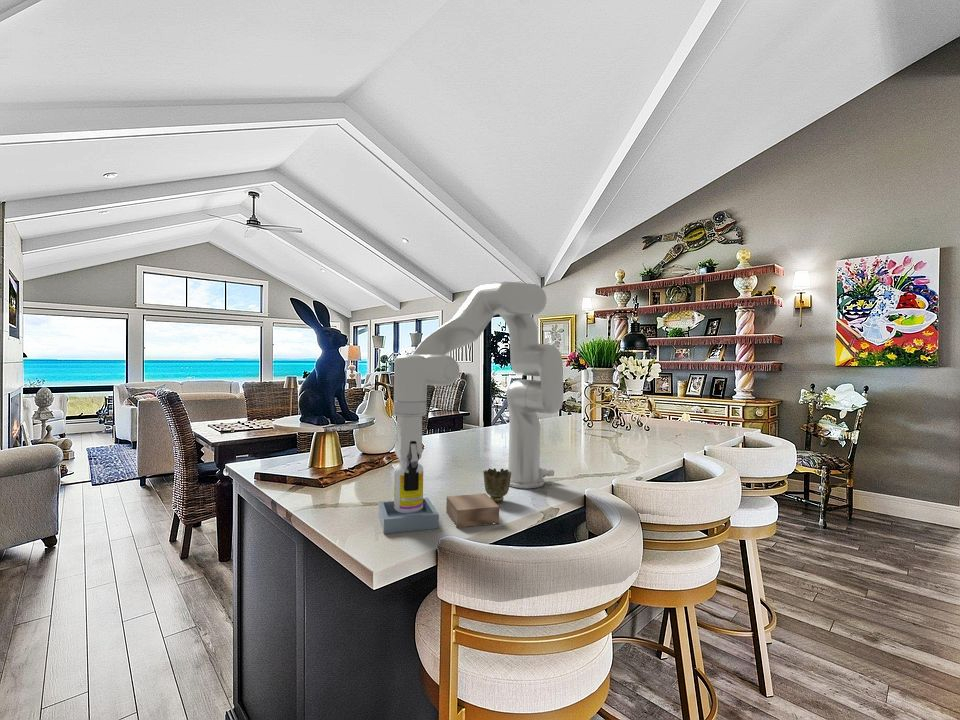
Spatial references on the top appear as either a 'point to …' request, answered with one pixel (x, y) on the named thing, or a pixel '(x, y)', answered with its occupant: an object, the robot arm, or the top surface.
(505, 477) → the cup
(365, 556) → the top surface
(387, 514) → the slate ceramic holder
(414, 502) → the supplement bottle
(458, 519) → the walnut riser block
